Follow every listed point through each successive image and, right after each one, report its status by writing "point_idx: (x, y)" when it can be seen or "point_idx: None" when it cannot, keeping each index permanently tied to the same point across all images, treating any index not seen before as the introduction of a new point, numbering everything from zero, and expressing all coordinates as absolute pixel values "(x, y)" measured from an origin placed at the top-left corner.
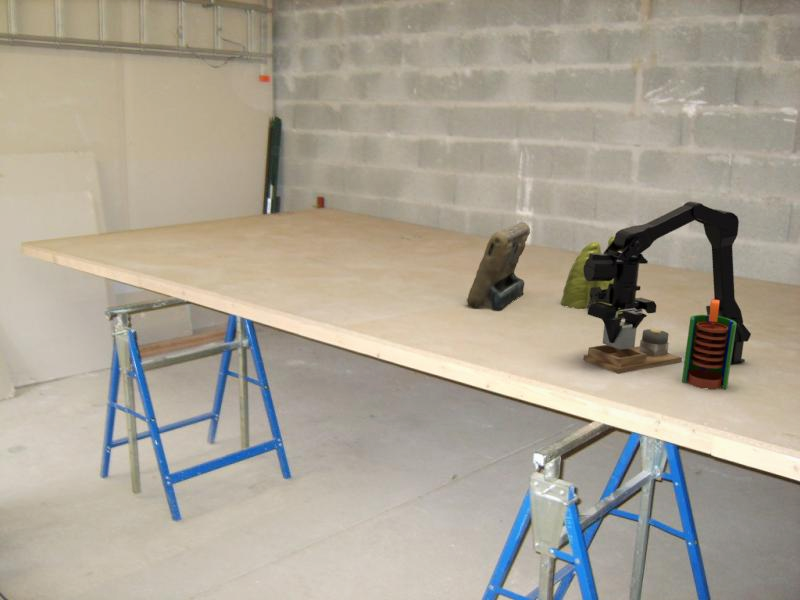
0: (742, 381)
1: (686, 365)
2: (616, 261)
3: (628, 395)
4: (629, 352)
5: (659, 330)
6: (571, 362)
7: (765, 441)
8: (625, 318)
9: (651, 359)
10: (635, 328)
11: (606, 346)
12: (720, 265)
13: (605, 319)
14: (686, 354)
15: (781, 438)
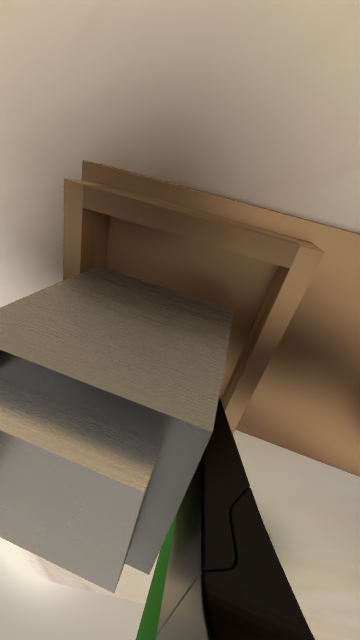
0: (312, 592)
1: (160, 560)
2: None
3: None
4: (241, 364)
5: None
6: (19, 148)
7: (42, 566)
8: (198, 601)
9: (298, 424)
10: (136, 565)
11: (201, 242)
12: None
13: None
14: (145, 610)
15: (68, 579)
